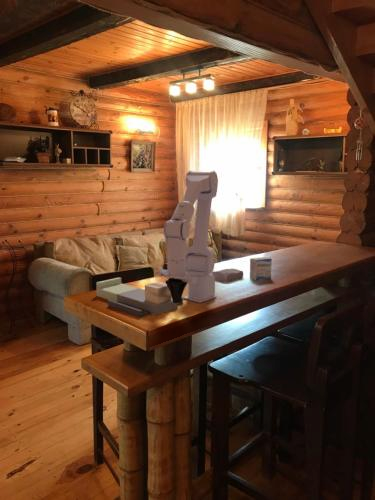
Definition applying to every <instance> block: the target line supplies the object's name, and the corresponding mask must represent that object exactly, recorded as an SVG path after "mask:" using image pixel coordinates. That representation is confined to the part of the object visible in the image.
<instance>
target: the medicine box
mask: <svg viewBox="0 0 375 500" xmlns="http://www.w3.org/2000/svg"><path fill="white" fill-rule="evenodd" d="M272 260H273V259H272V258H271V257H266V256H264V257H262V256H261V257H253V258H250V259H249V279H250V280H253V281H263V280H270V279H271V278H272V265H273V264H272V263H273V262H272Z"/></svg>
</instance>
